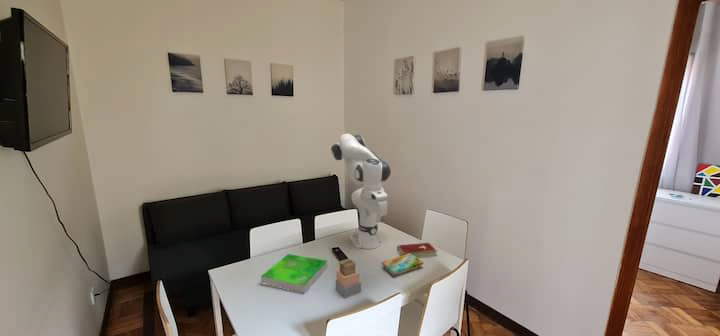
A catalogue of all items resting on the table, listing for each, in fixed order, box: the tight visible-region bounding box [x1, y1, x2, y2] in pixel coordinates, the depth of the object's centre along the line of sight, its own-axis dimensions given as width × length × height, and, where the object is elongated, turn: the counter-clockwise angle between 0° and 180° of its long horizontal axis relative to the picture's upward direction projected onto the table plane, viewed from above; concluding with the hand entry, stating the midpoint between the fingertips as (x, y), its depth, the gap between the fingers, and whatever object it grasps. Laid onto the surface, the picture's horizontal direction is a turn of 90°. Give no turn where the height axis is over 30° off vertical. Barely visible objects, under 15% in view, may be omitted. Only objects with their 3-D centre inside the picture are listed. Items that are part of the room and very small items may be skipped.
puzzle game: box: [381, 254, 424, 277], centre depth 163 cm, size 12×5×20 cm
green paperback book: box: [260, 253, 328, 294], centre depth 156 cm, size 25×25×5 cm
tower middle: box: [336, 268, 360, 288], centre depth 142 cm, size 8×8×5 cm
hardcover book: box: [396, 242, 438, 259], centre depth 180 cm, size 12×21×4 cm, turn 100°
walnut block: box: [339, 258, 356, 276], centre depth 141 cm, size 6×6×5 cm
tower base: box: [335, 279, 362, 299], centre depth 143 cm, size 9×9×5 cm
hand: (372, 219), depth 146 cm, fingers open, 8 cm apart
